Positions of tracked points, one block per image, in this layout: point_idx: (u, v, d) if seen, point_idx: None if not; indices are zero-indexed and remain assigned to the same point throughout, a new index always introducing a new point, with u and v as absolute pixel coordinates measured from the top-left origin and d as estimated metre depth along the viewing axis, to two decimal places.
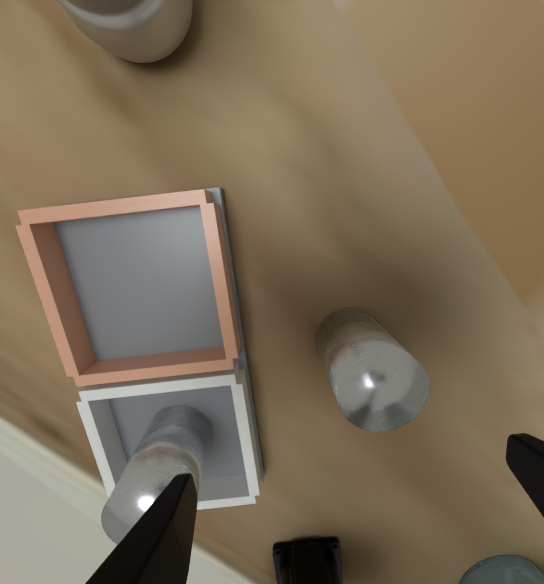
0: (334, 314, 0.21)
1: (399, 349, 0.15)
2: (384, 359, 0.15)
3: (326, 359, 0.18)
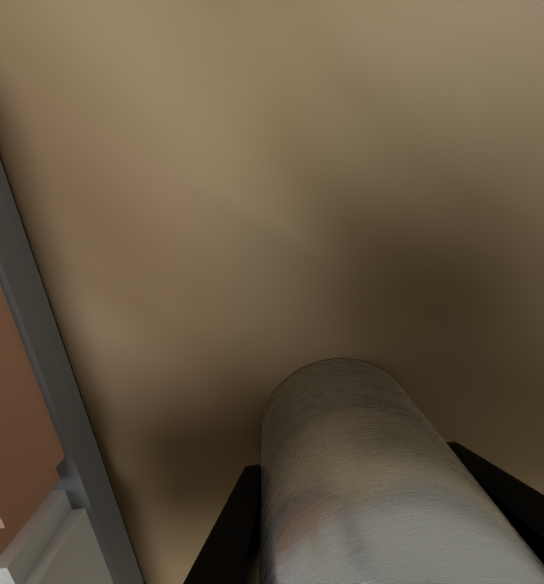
0: (301, 375, 0.09)
1: None
2: None
3: (260, 551, 0.06)
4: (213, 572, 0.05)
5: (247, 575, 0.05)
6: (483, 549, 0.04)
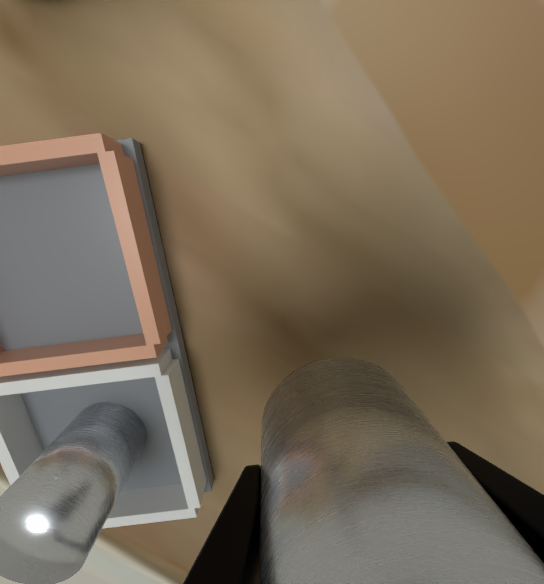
0: (301, 374, 0.09)
1: None
2: None
3: (260, 549, 0.06)
4: (213, 572, 0.05)
5: (247, 575, 0.05)
6: (482, 546, 0.04)
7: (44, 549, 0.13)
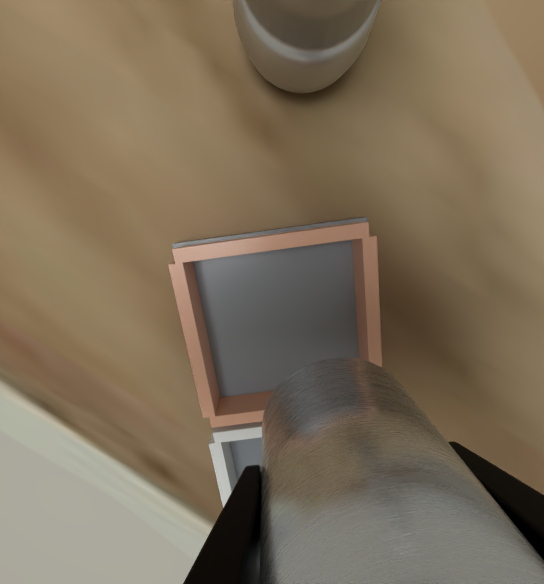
0: (301, 374, 0.09)
1: None
2: None
3: (260, 549, 0.06)
4: (213, 572, 0.05)
5: (247, 575, 0.05)
6: (485, 547, 0.04)
7: None
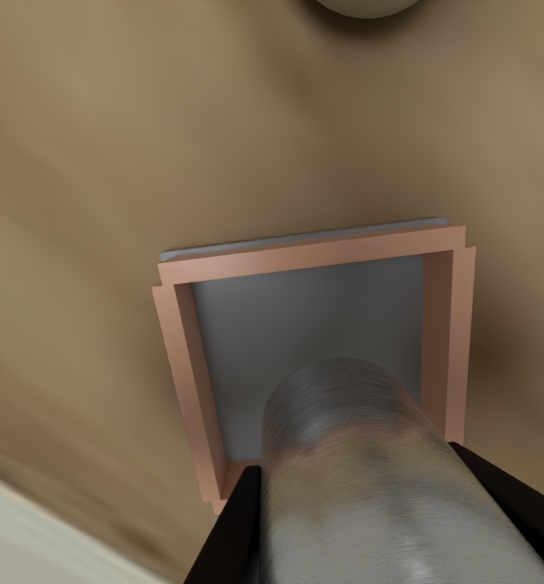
0: (301, 374, 0.09)
1: None
2: None
3: (259, 549, 0.06)
4: (213, 572, 0.05)
5: (247, 575, 0.05)
6: (484, 547, 0.04)
7: None
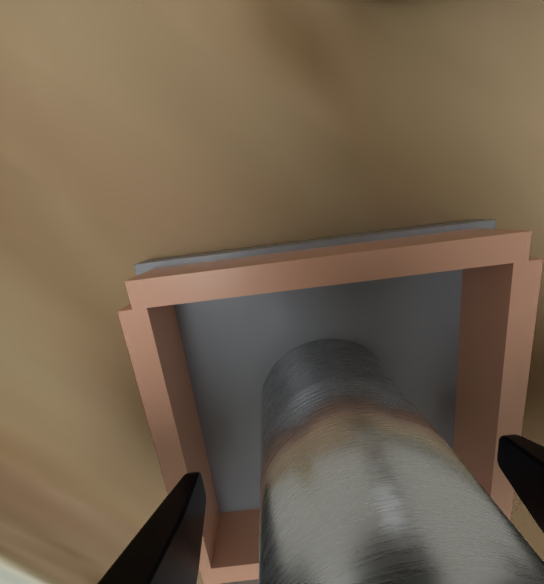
0: (295, 352, 0.10)
1: (487, 536, 0.04)
2: None
3: (260, 485, 0.07)
4: (123, 583, 0.05)
5: None
6: (425, 459, 0.05)
7: None
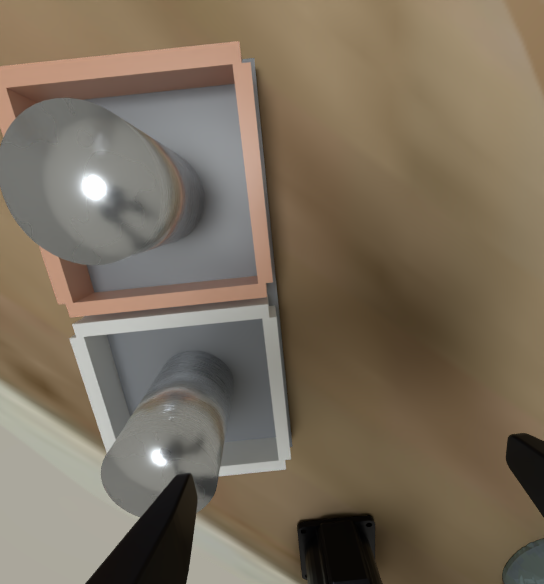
0: None
1: None
2: (63, 115, 0.08)
3: None
4: None
5: None
6: None
7: None
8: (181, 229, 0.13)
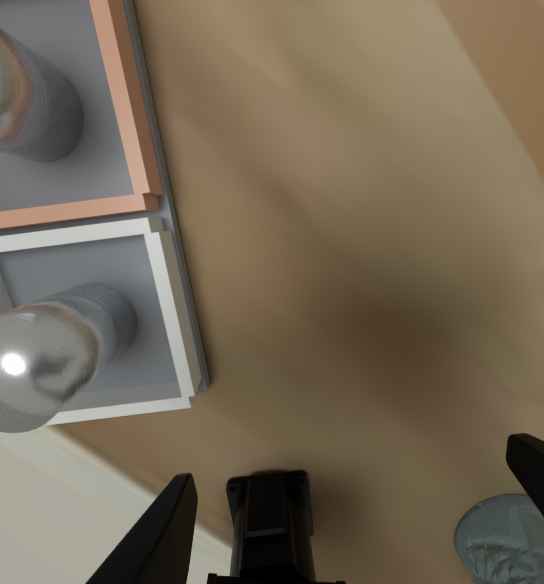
0: None
1: None
2: None
3: None
4: None
5: None
6: None
7: (16, 385, 0.12)
8: (34, 125, 0.13)
